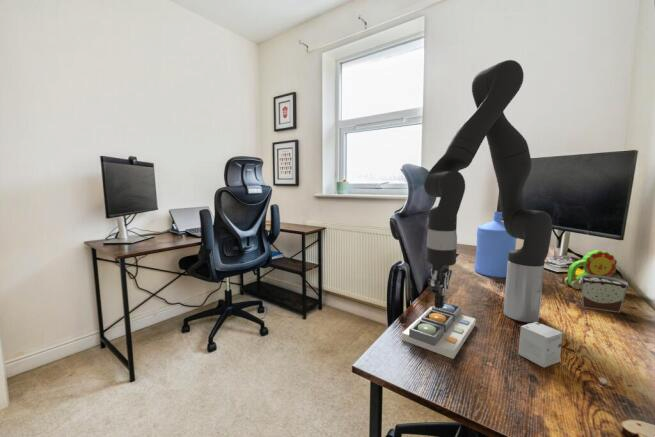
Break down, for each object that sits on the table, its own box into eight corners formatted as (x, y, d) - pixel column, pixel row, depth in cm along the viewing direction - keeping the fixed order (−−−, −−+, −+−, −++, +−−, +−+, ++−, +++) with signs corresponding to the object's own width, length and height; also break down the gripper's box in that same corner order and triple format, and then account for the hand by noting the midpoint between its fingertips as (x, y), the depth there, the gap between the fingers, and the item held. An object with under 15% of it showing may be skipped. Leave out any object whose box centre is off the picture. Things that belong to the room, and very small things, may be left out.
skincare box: (544, 368, 65) (547, 338, 64) (517, 354, 71) (520, 325, 70) (560, 362, 68) (563, 332, 67) (533, 348, 73) (535, 320, 72)
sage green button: (438, 334, 75) (438, 327, 75) (431, 341, 72) (432, 334, 72) (421, 329, 78) (421, 321, 78) (414, 335, 75) (415, 328, 74)
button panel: (475, 324, 85) (476, 310, 85) (452, 360, 68) (453, 343, 67) (431, 311, 93) (432, 299, 93) (400, 341, 76) (401, 326, 76)
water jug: (521, 278, 125) (527, 214, 121) (485, 278, 125) (489, 214, 122) (500, 267, 140) (505, 210, 137) (468, 267, 141) (471, 210, 137)
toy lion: (572, 289, 112) (577, 251, 110) (563, 284, 118) (567, 248, 116) (617, 291, 111) (622, 252, 109) (605, 286, 116) (610, 249, 114)
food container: (616, 305, 98) (620, 277, 97) (626, 313, 92) (630, 283, 91) (570, 299, 103) (574, 272, 102) (577, 306, 97) (580, 277, 96)
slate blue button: (456, 313, 87) (456, 306, 87) (451, 318, 84) (452, 311, 84) (441, 308, 90) (441, 302, 90) (436, 313, 87) (436, 307, 87)
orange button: (447, 323, 81) (448, 316, 81) (442, 329, 78) (443, 322, 78) (432, 318, 84) (432, 311, 84) (426, 324, 81) (426, 317, 80)
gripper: (448, 252, 71) (445, 319, 73) (463, 243, 81) (460, 302, 83) (418, 248, 75) (416, 311, 78) (435, 239, 85) (434, 295, 88)
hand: (439, 306), depth 80 cm, fingers closed
